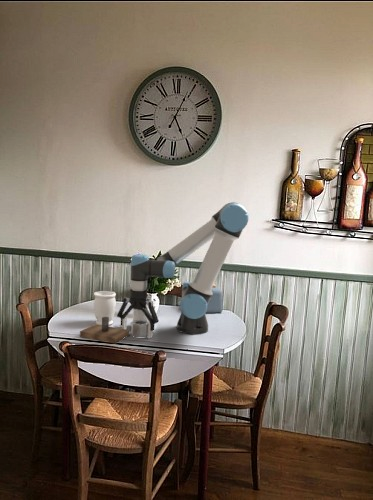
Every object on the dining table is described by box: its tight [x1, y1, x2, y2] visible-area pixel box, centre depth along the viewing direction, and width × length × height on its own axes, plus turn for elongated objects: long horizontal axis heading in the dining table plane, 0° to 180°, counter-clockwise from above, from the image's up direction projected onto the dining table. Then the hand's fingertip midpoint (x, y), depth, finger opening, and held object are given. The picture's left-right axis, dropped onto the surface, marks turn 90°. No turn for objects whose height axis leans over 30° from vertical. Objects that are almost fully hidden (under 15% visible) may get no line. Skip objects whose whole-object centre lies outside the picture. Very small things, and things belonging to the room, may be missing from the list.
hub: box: [130, 320, 150, 338], centre depth 210 cm, size 8×8×6 cm
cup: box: [132, 304, 151, 321], centre depth 223 cm, size 8×12×10 cm
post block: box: [79, 317, 130, 344], centre depth 206 cm, size 18×12×8 cm, turn 69°
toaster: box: [205, 283, 224, 314], centre depth 257 cm, size 16×16×16 cm
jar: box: [93, 290, 117, 326], centre depth 224 cm, size 11×10×15 cm
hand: (136, 335), depth 210 cm, fingers open, 12 cm apart
